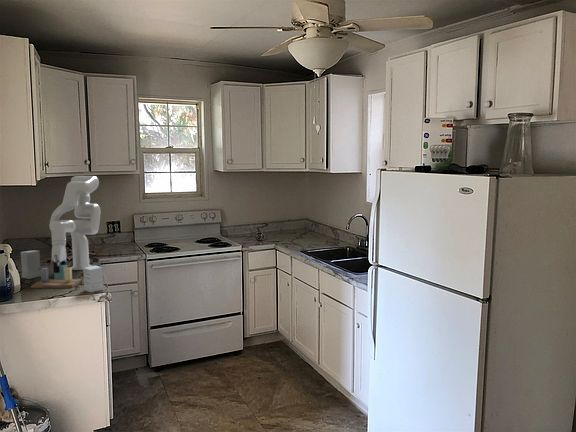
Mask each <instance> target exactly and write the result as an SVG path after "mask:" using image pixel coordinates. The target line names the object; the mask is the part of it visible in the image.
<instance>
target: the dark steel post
mask: <svg viewBox="0 0 576 432" xmlns="http://www.w3.org/2000/svg"><path fill="white" fill-rule="evenodd" d="M49 276H50V275H49V267H41V276H40V278H41V279H40V280H41V281H42V283H47V282H49V279H50V277H49Z"/></svg>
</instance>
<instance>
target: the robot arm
mask: <svg viewBox="0 0 576 432" xmlns="http://www.w3.org/2000/svg"><path fill="white" fill-rule="evenodd" d="M99 184H100V181H99V178H98V177H97V176H95V175H76V176H72V177H71V179H70V181H69V182H68V183H67V184H66V186H65V192H64V195H63V200H62V203H61V204H60V205H58V206H57V207H56V209H55V210H54V211H53V212H52V214H51V217H50V219H49V230H50V231H51V245H52V246H51V262H52V267H53V270H52V271H53V274H54V273H59V272H60V270H59V265H67V259H68V258H67V255H68V254H67V248H66V245H67V233H70V235H71V237H70V238H71V247H72V248H71V249H72V264H73V265H72V266H71V267H72V271H83V268H85V267H90V266H93V265H92V264H90V261H91V260H90V255H89V254H90V253H89V250H90V249H89V239H88V238H87V236H86V235H90V236H91V235H97V233H98V232H99V228H100V221H101V215H102V214H101V207H100V205H99V204H97V203H91V196H90V194H92V193H93V192H94V191H96V190H97V189H98V187H99V186H100V185H99ZM72 210H74V212H73V213H74V216H75V218H76V219H74V220H71V219H60V218H61V217H62V215H64V214H65V213H68V212H70V211H72ZM77 218H78V219H77Z"/></svg>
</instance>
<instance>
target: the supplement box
mask: <svg viewBox="0 0 576 432" xmlns="http://www.w3.org/2000/svg"><path fill="white" fill-rule="evenodd" d="M82 271H83V283H84V285H83V286H84V289H83V290H84V291H85V292H87V293H88V292H89V293H90V294H91V293H96V292H99V291H103V290H104V275H103V272H104V271H103V267H102V266H98V265H92V266H90V267H85V268H83V270H82ZM95 291H96V292H95Z"/></svg>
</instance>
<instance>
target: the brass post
mask: <svg viewBox="0 0 576 432" xmlns="http://www.w3.org/2000/svg"><path fill="white" fill-rule="evenodd" d="M72 279H73V270H72V267H68V268H65V283H71V282H72Z"/></svg>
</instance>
